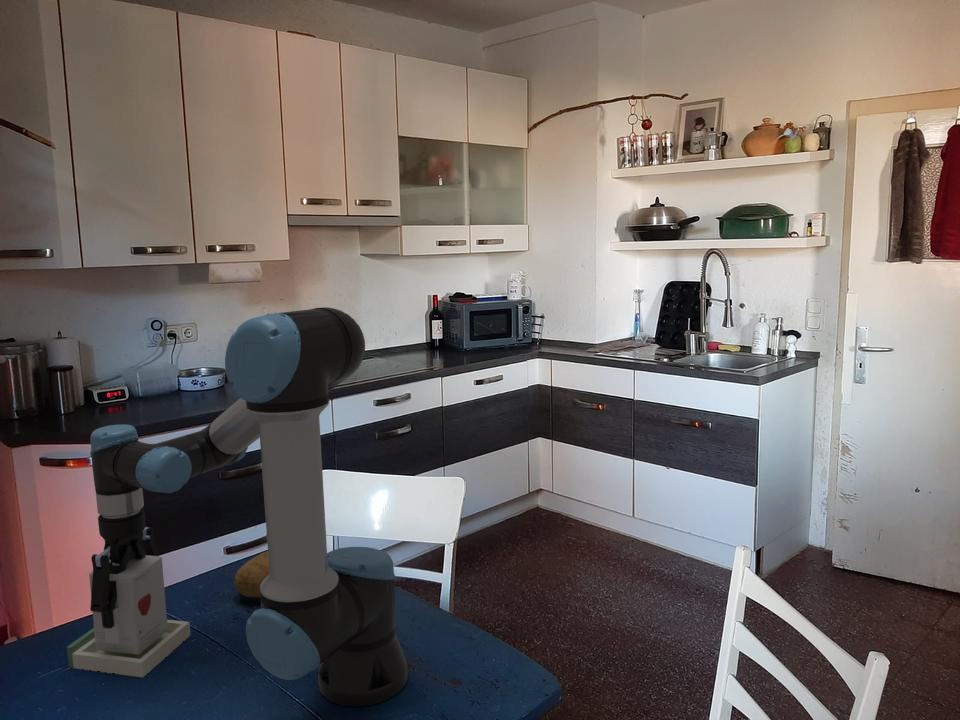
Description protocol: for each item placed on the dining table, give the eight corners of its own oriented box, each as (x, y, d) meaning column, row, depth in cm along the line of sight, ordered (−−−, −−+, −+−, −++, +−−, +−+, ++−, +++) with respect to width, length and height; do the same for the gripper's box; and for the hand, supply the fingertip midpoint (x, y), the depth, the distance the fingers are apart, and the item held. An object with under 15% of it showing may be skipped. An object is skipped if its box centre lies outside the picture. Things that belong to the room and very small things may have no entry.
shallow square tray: (190, 635, 143) (188, 616, 142) (142, 677, 129) (140, 656, 129) (122, 627, 146) (120, 608, 145) (68, 667, 132) (66, 647, 132)
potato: (298, 579, 166) (296, 545, 164) (268, 610, 152) (266, 573, 151) (258, 575, 168) (256, 542, 166) (225, 605, 154) (222, 569, 153)
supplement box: (139, 656, 132) (131, 577, 129) (94, 651, 134) (86, 573, 131) (169, 630, 141) (163, 555, 138) (128, 625, 142) (120, 551, 140)
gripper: (142, 489, 144) (152, 597, 148) (56, 533, 123) (70, 658, 127) (176, 492, 143) (185, 601, 146) (95, 536, 122) (108, 663, 125)
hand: (132, 627), depth 137 cm, fingers closed on supplement box, 9 cm apart
